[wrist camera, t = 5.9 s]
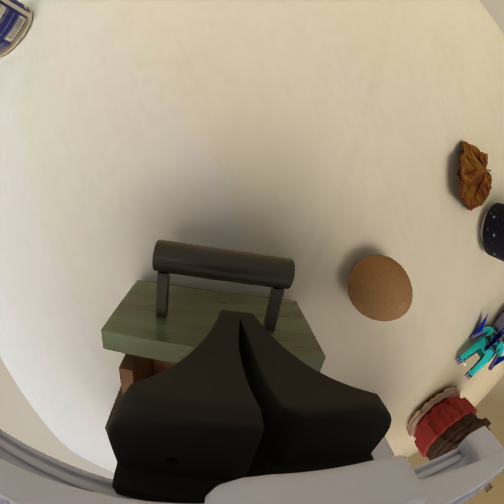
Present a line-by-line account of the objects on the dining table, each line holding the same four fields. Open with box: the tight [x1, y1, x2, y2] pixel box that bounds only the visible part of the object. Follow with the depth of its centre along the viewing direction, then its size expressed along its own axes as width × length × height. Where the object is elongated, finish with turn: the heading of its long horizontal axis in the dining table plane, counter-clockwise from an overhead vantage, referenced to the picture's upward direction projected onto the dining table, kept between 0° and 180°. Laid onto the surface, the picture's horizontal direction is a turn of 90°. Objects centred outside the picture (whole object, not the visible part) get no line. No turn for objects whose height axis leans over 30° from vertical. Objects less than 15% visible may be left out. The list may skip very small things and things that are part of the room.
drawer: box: [101, 240, 325, 394], centre depth 17 cm, size 17×11×7 cm
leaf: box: [457, 141, 492, 211], centre depth 18 cm, size 6×7×2 cm
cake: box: [407, 387, 492, 492], centre depth 20 cm, size 11×9×18 cm
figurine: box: [457, 311, 504, 380], centre depth 23 cm, size 7×6×12 cm
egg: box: [348, 255, 412, 321], centre depth 18 cm, size 4×4×6 cm
